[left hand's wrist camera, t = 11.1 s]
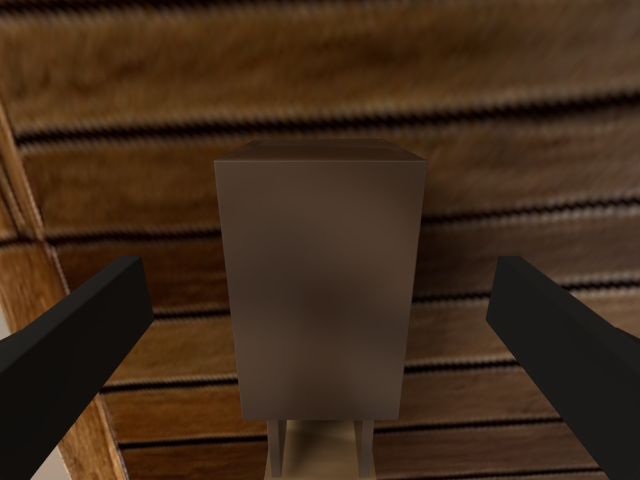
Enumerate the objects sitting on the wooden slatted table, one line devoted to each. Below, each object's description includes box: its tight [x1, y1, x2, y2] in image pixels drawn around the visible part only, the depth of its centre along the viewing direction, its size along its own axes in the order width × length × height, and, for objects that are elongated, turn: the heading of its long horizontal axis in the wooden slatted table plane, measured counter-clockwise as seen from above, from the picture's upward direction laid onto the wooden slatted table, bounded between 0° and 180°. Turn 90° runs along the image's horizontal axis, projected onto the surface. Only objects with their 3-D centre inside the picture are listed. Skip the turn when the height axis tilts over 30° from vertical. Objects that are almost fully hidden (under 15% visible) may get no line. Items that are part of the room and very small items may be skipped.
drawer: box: [264, 420, 376, 480], centre depth 29 cm, size 21×9×10 cm, turn 0°
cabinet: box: [214, 139, 428, 420], centre depth 24 cm, size 17×10×11 cm, turn 0°
